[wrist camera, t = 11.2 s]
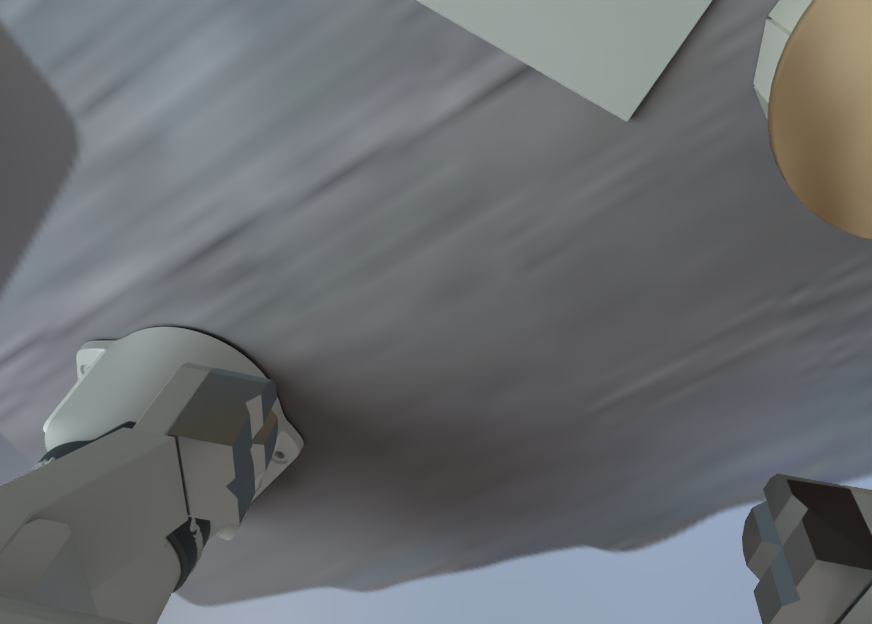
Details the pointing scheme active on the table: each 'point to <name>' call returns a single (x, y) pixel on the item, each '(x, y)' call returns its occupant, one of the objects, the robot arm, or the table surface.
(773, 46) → the bowl
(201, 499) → the robot arm
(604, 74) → the trivet
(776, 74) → the lid
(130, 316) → the table surface
